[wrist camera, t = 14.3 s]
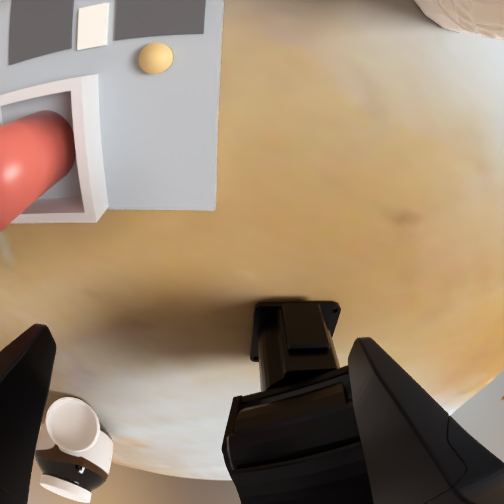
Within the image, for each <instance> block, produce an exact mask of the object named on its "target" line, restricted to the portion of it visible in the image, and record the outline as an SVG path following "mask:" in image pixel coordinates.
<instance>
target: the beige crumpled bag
mask: <svg viewBox="0 0 504 504" xmlns="http://www.w3.org/2000/svg"><path fill="white" fill-rule="evenodd" d="M414 1H415V2H416V3H417V5H418V6H419V7H420V9H421V10H422V11H423V13H424V14H425V15H426V16H427V17H429V18H430V19H432V20H433V21H434V22H436V23H437V24H438V25H440V26H441V27H443V28H444V29H447V30H452V31H456V32H460V33H464V34H475V35H479V36H483V37H488V38H494V39H500V40H504V0H414Z"/></svg>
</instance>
